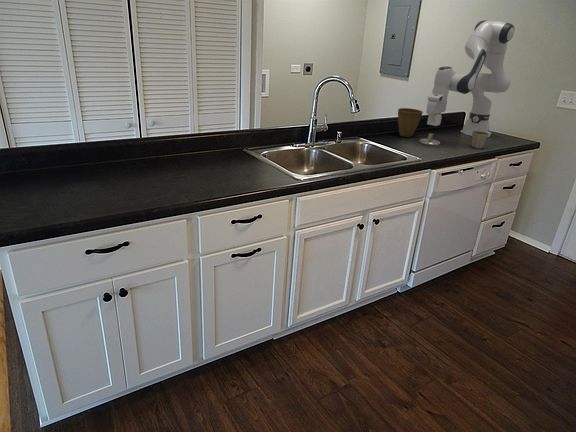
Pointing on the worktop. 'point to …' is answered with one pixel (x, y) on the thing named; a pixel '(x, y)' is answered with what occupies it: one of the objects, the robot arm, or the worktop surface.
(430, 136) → the pot lid
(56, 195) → the worktop surface
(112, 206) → the worktop surface
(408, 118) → the plant pot
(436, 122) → the knob
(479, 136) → the flower pot
